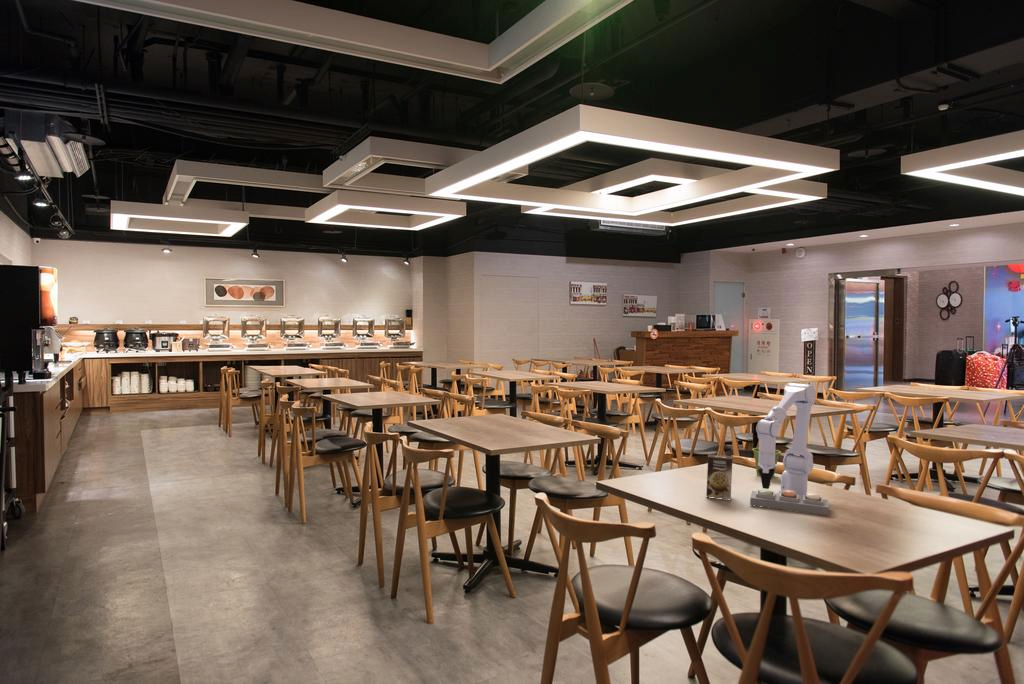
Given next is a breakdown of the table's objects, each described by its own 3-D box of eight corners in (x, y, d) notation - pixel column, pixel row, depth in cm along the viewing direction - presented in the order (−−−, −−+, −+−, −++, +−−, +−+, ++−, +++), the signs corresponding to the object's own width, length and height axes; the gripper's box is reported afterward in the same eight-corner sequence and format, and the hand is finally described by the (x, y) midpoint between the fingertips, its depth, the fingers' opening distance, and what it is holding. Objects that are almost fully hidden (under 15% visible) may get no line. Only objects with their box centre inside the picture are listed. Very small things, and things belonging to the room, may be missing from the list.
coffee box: (706, 498, 244) (707, 456, 243) (706, 494, 250) (707, 453, 249) (731, 501, 241) (732, 458, 240) (731, 496, 247) (732, 455, 246)
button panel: (750, 505, 235) (750, 494, 235) (751, 498, 245) (752, 487, 245) (828, 515, 224) (829, 504, 224) (827, 507, 234) (827, 496, 234)
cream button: (806, 499, 230) (806, 495, 230) (806, 496, 234) (806, 492, 234) (819, 500, 228) (820, 496, 228) (819, 497, 232) (819, 493, 232)
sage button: (758, 495, 237) (759, 491, 237) (759, 493, 241) (759, 489, 241) (771, 497, 235) (771, 493, 235) (772, 494, 239) (772, 490, 239)
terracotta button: (782, 496, 233) (782, 492, 233) (782, 493, 237) (782, 489, 237) (795, 497, 231) (795, 493, 231) (795, 494, 235) (795, 490, 235)
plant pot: (777, 480, 274) (778, 454, 274) (749, 476, 281) (749, 450, 280) (782, 474, 285) (783, 449, 284) (754, 471, 291) (755, 446, 290)
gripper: (778, 457, 229) (776, 494, 229) (779, 449, 242) (777, 485, 243) (757, 455, 232) (756, 491, 232) (759, 447, 245) (758, 482, 245)
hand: (765, 488), depth 238 cm, fingers closed
